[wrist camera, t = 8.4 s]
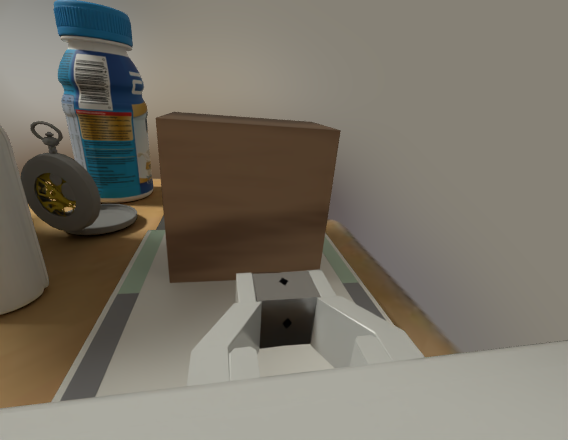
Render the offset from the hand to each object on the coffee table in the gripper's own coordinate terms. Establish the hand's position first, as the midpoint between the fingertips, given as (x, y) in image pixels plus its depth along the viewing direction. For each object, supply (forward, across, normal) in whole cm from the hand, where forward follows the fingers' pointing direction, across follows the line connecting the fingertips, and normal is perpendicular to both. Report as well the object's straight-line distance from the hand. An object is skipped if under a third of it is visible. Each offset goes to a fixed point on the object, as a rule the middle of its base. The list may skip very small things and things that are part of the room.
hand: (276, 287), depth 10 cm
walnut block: (+11, 0, +5) cm, 12 cm away
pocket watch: (+20, +14, +7) cm, 26 cm away
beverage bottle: (+31, +15, +7) cm, 35 cm away
